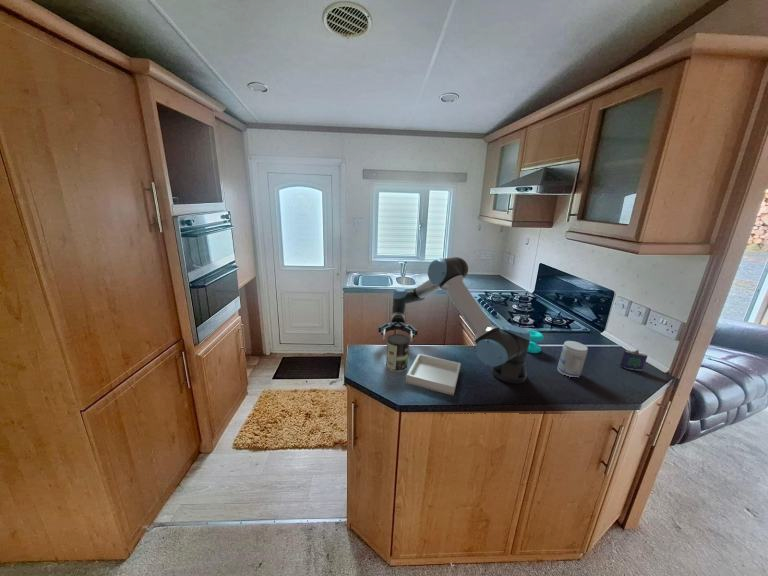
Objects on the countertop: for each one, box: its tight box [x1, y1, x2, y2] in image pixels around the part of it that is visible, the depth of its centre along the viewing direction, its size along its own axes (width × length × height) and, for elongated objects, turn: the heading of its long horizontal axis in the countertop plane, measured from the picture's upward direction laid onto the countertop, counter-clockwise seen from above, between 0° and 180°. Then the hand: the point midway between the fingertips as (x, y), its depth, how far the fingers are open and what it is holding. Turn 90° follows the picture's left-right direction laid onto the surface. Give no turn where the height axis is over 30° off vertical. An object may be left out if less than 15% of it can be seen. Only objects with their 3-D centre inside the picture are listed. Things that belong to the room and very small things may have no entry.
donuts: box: [526, 329, 545, 354], centre depth 158 cm, size 10×10×10 cm
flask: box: [619, 349, 648, 370], centre depth 143 cm, size 9×3×11 cm, turn 68°
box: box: [405, 353, 462, 397], centre depth 129 cm, size 20×20×4 cm
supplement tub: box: [557, 340, 589, 378], centre depth 136 cm, size 10×10×15 cm
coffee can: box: [385, 333, 411, 373], centre depth 134 cm, size 10×10×14 cm
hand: (397, 338), depth 143 cm, fingers open, 13 cm apart
